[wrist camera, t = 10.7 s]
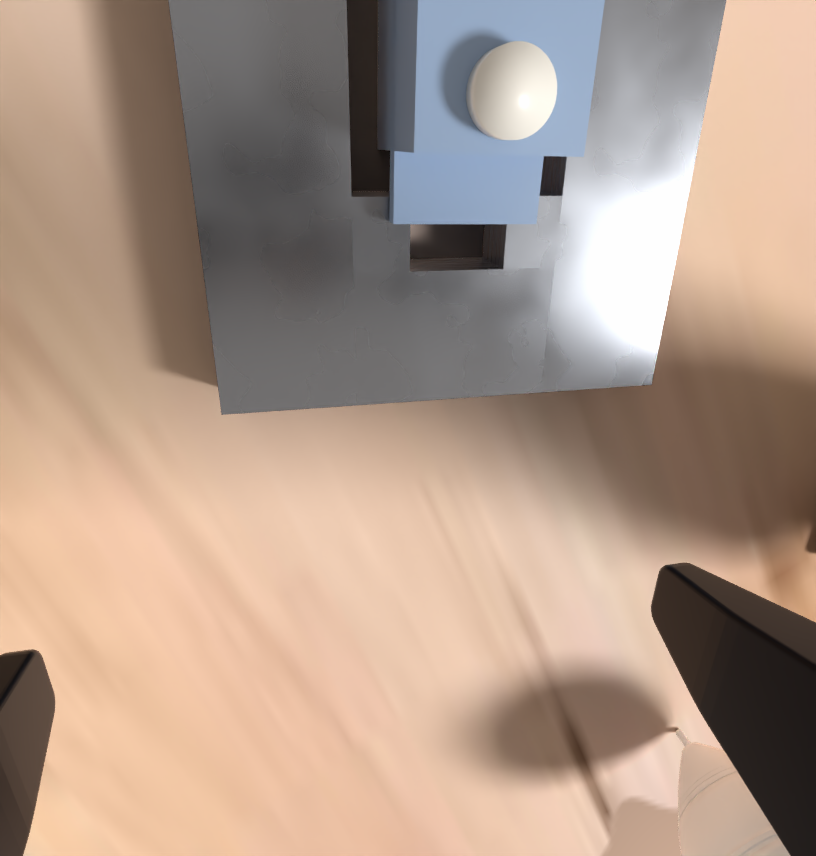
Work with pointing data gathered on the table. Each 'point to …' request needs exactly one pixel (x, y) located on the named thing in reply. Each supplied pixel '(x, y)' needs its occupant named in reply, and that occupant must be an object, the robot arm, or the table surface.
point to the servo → (481, 102)
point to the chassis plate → (390, 243)
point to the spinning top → (719, 808)
